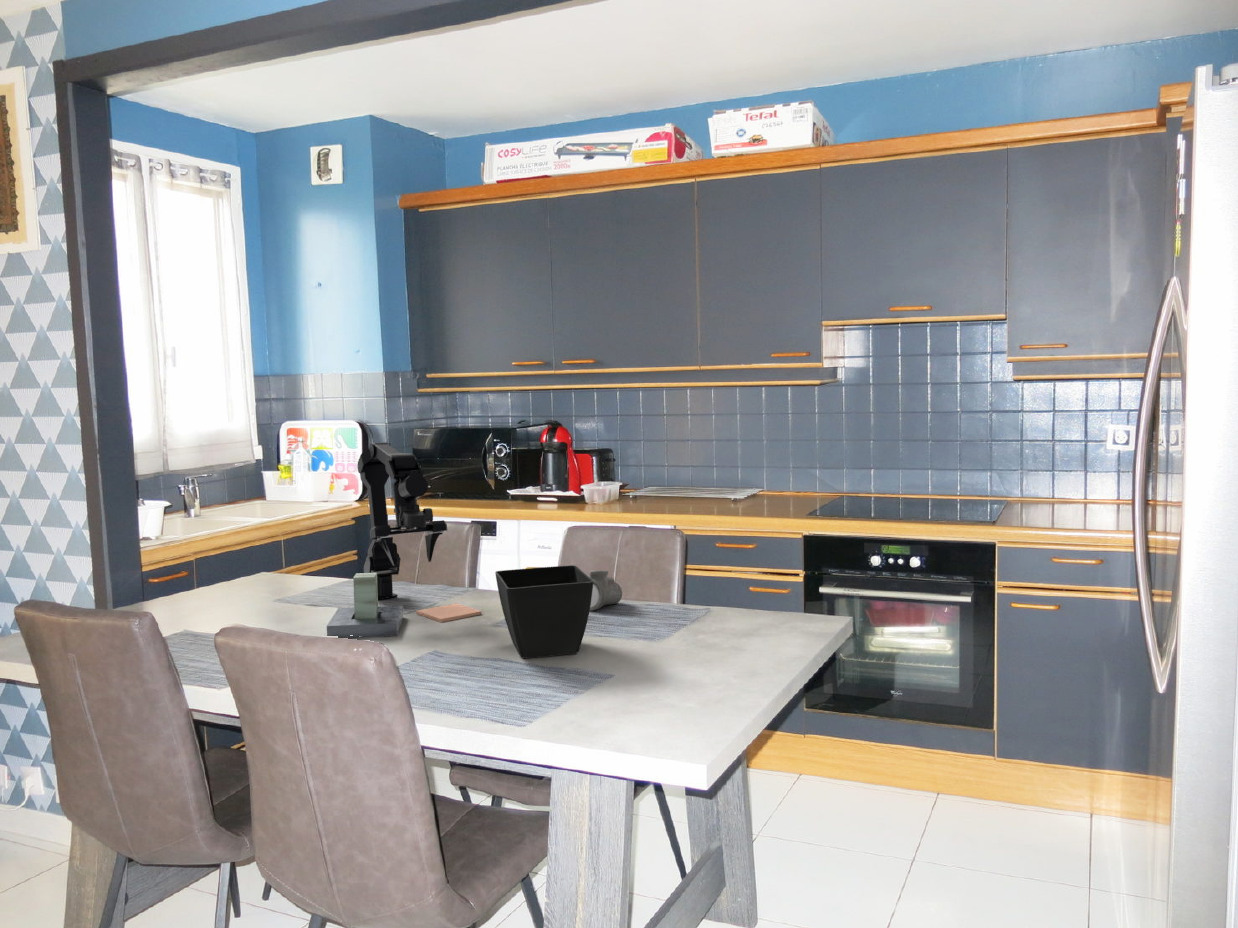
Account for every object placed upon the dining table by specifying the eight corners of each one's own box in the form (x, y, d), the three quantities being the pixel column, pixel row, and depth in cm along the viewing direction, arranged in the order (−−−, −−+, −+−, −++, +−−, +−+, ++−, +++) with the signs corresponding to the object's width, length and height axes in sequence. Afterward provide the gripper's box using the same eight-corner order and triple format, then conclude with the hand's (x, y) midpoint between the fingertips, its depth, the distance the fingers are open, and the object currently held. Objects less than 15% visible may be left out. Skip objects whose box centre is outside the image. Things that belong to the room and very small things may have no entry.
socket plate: (338, 619, 245) (338, 608, 245) (403, 617, 247) (403, 605, 247) (327, 638, 228) (326, 625, 227) (396, 635, 230) (396, 623, 229)
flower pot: (508, 664, 206) (507, 586, 204) (495, 641, 224) (494, 569, 222) (595, 657, 211) (595, 581, 209) (576, 635, 229) (575, 564, 227)
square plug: (357, 625, 240) (356, 573, 238) (378, 624, 240) (377, 572, 239) (355, 630, 235) (353, 577, 234) (376, 629, 235) (374, 576, 234)
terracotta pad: (416, 613, 251) (416, 610, 251) (456, 606, 259) (456, 603, 259) (441, 622, 242) (441, 619, 242) (481, 614, 250) (481, 611, 250)
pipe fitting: (599, 611, 250) (599, 571, 250) (575, 610, 255) (575, 570, 255) (628, 608, 259) (627, 569, 260) (604, 606, 264) (604, 568, 265)
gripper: (378, 500, 237) (384, 564, 235) (451, 495, 246) (458, 557, 244) (366, 507, 246) (372, 568, 244) (436, 501, 256) (443, 560, 254)
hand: (412, 563), depth 246 cm, fingers open, 9 cm apart
